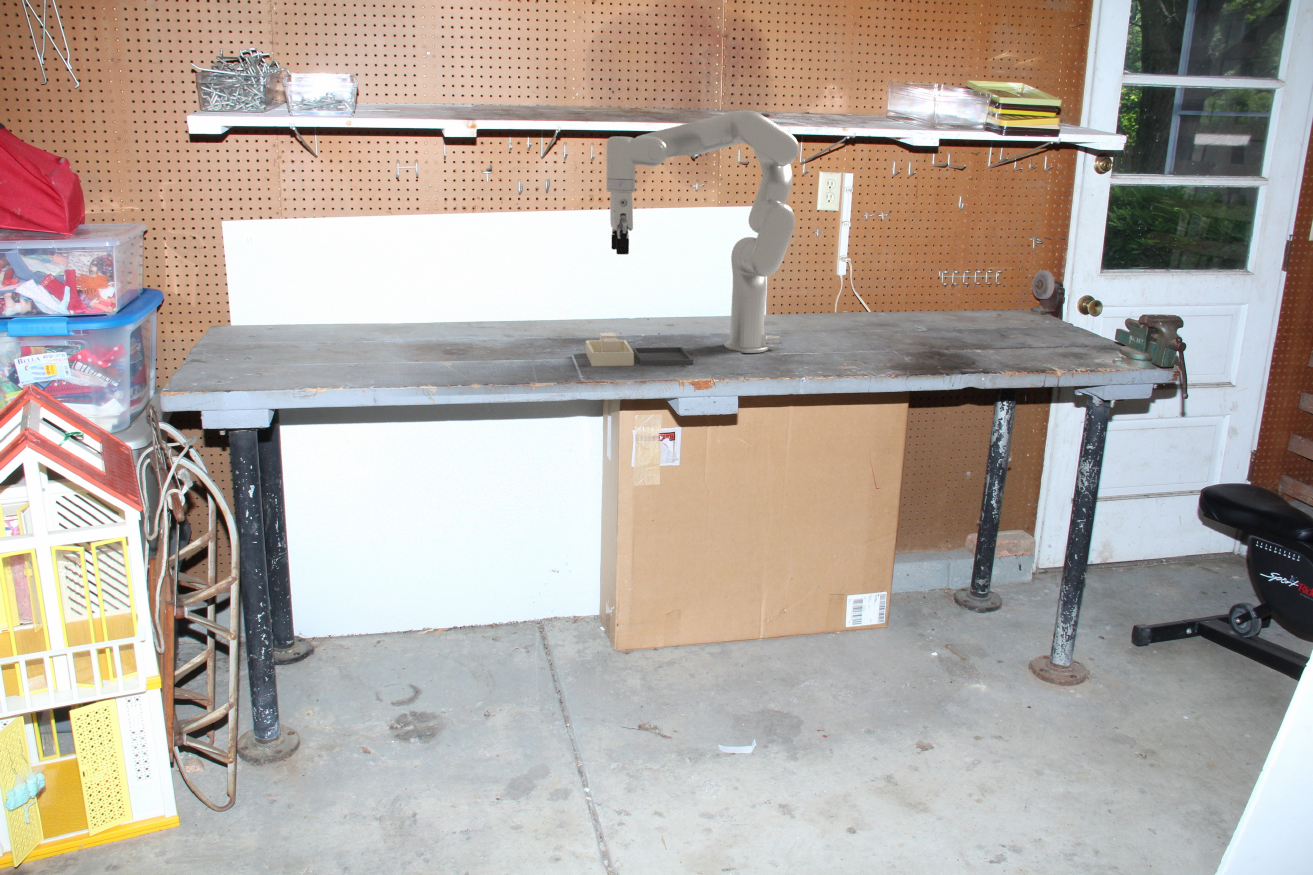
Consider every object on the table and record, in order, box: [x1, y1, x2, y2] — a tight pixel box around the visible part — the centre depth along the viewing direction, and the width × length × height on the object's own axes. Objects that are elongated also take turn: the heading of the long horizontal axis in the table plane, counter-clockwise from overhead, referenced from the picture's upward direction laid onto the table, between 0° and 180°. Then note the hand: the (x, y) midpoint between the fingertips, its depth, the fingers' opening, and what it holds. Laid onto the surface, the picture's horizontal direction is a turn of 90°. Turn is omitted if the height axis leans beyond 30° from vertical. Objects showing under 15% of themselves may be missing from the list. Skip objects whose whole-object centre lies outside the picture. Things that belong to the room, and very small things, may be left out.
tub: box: [585, 339, 635, 367], centre depth 263 cm, size 11×15×4 cm
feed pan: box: [631, 346, 694, 366], centre depth 266 cm, size 14×15×2 cm
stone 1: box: [599, 332, 617, 352], centre depth 266 cm, size 4×4×6 cm
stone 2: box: [603, 337, 620, 352], centre depth 259 cm, size 4×4×6 cm
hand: (619, 251), depth 262 cm, fingers open, 9 cm apart
